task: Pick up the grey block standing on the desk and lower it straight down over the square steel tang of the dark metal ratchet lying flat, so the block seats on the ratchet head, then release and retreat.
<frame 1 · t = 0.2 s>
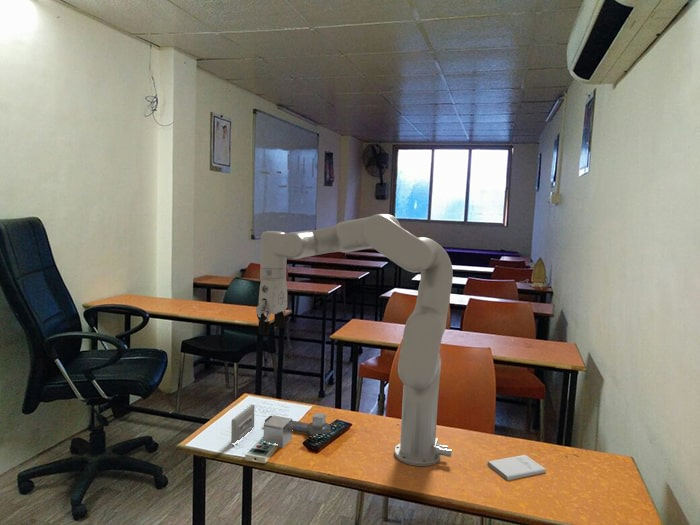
hand: (271, 330, 146), 30 cm above the table, fingers open, 9 cm apart
external hard drive: (516, 471, 131), on the table
cassette: (243, 438, 143), on the table
grey block: (277, 441, 142), on the table
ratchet: (300, 430, 149), on the table
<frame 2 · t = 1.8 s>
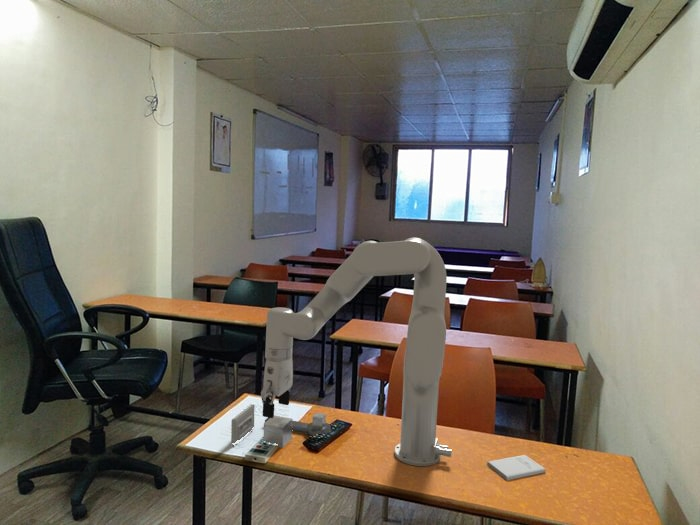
hand: (276, 410, 141), 9 cm above the table, fingers open, 9 cm apart
nothing on the table moved.
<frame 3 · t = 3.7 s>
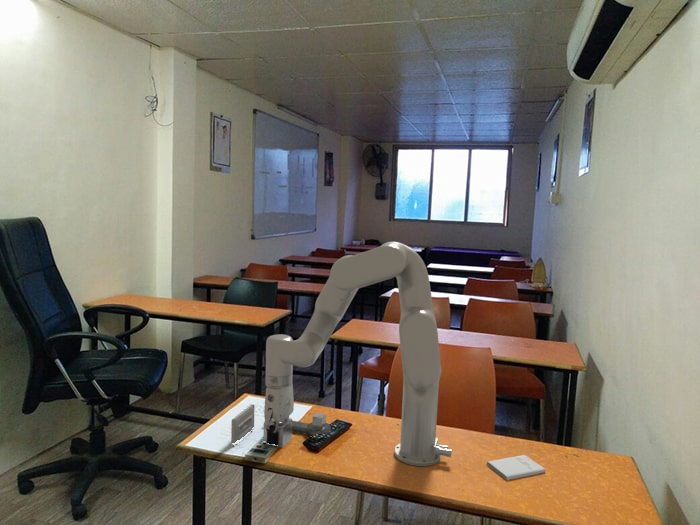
hand: (277, 439, 142), 1 cm above the table, fingers closed on grey block, 6 cm apart
grey block: (277, 441, 142), on the table, touching gripper
everything else where it was.
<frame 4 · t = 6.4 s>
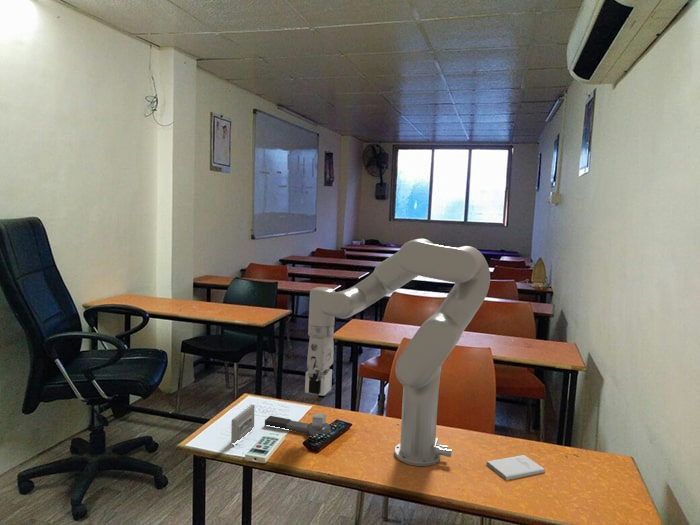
hand: (318, 388, 146), 14 cm above the table, fingers closed on grey block, 6 cm apart
grey block: (318, 390, 146), point 13 cm above the table, touching gripper
everything else where it was.
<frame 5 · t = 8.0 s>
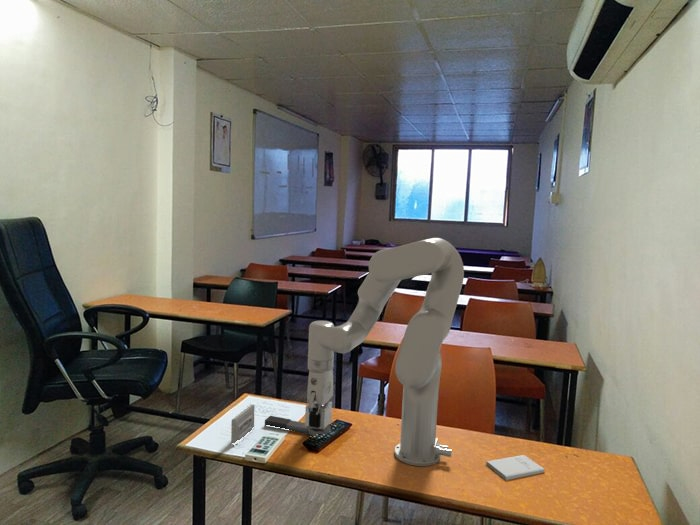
hand: (318, 421, 147), 4 cm above the table, fingers closed on grey block, 6 cm apart
grey block: (318, 423, 147), point 3 cm above the table, touching gripper
everything else where it was.
when the fingers open (3 cm above the table, at t = 9.2 s): grey block stays where it is, resting on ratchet.
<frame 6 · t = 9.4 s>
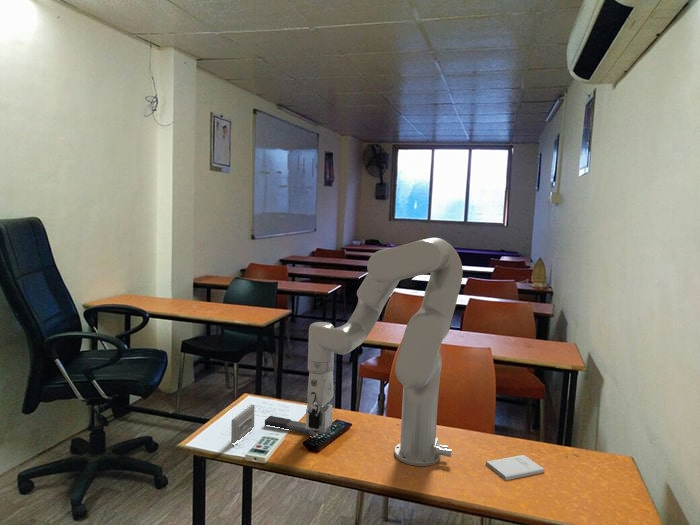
hand: (319, 422, 147), 4 cm above the table, fingers open, 7 cm apart
grey block: (318, 426, 147), point 2 cm above the table, touching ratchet
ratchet: (300, 430, 149), on the table, touching grey block
everything else where it was.
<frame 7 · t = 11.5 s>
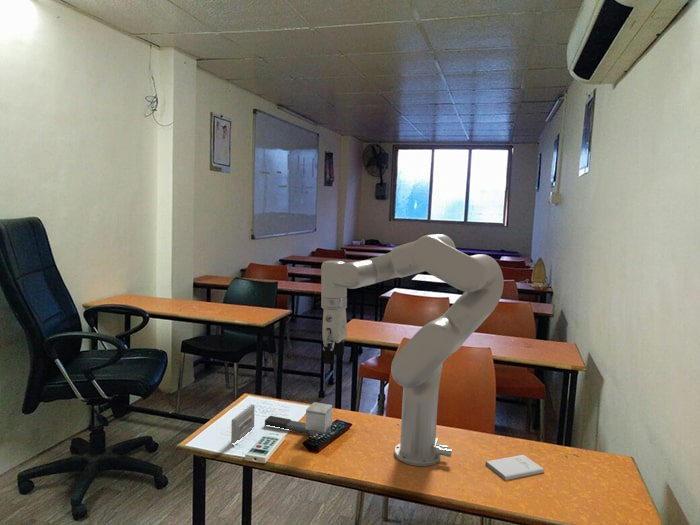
hand: (333, 359, 148), 22 cm above the table, fingers open, 9 cm apart
nothing on the table moved.
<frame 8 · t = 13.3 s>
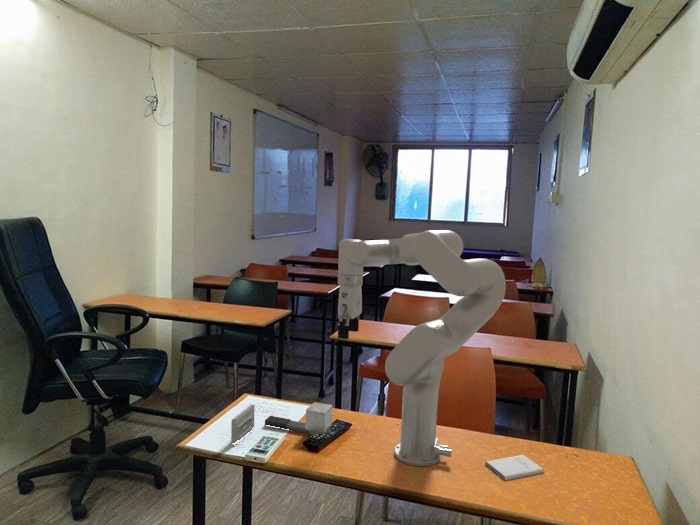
hand: (348, 334, 152), 28 cm above the table, fingers open, 9 cm apart
nothing on the table moved.
at the end: grey block 0.0 cm from the target spot on the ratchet, point 2.2 cm above the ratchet's base; grey block tilted 0°; the gripper is holding nothing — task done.
